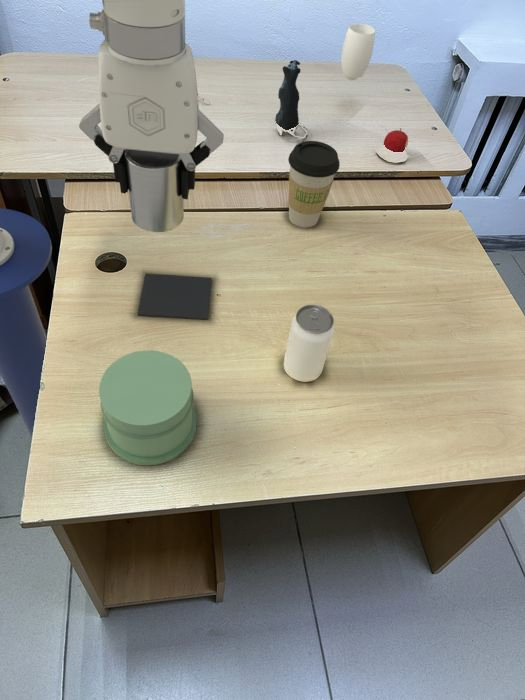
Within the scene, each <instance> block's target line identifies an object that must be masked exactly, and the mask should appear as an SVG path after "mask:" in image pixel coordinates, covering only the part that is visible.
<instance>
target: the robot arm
mask: <svg viewBox="0 0 525 700" xmlns="http://www.w3.org/2000/svg"><path fill="white" fill-rule="evenodd" d="M101 1H102V10H101V11H97V13H96V12H89V15H88V16H89V17H88V19H89V20H88V21H89V27H90V29H92V30H98V31H99V32H102V36H104V39H103V41H102V43H100V45H99V48H98V63H97V65H98V67H97V68H98V70H97V73H98V74H97V79H98V100H99V103H98V104H96V106H94V107H93V108H92V109H91V110H90V111H89V112H88V113H86V114H84V116H82V118H81V120H80V122H79V124H78V127H79V129H80V130H81V132H82V133H84V134H85V135H86V136H87V138H89V139H90V140H92V141H93V143H94V145H95V147H97V148H98V149H99V150H100V151H101V152H103V153H104V154H105V155H106V156H107V157H108V161H109V162H110V163H111V164H112V165H113V173H114V181H115V183H119V188H120V194H127V193H129V189H128V180H127V171H126V162H125V149H130V150H140V151H149V152H160V153H170V154H179V156H180V158H181V159H182V161H183V165H182V170H181V190H182V198H183V199H184V200H188V199H189V194H190V190H192V191H193V190H195V186H196V169H197V166H199V165H200V164H202V162H204V161H205V160H206V159H207V158H209V157H210V155H211V153H213V152H215V151H216V150H217V149H218V148H219V147H220V146H221V145H223V144H224V137H225V135H224V133H223V131H221V130H220V128H218V127H217V126H216V124H214V123H213V122H212V121H211V120H210V118H208V117H207V116H206V115H205V114H204V112H202V110H200V108H199V96H198V94H199V91H198V81H197V72H196V66H195V59H194V55H193V51H192V48H191V46H190V45H189V44H188V43H186V0H101ZM99 124H100V125H101V126H99ZM198 131H199V132H200V133H201V134H202V135H203V136H204V137H205V140H203V141H201V142H200V143H199V144H197V142H198V141H197V140H198ZM14 247H15V246H14V241H13V238H12V236H11V235H10V234H9V233H8V232H7V231H6V230H4V229H2V228H0V265H2V264H4V263H5V262H6V261H7V260H8V259H9V258H10V257H11V256H12V254H13V252H14Z"/></svg>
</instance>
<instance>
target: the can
mask: <svg viewBox="0 0 525 700" xmlns="http://www.w3.org/2000/svg"><path fill="white" fill-rule="evenodd" d="M334 333H335V319H334V316H333V314H332V313H331V311H330V310H328V309H327V308H325V307H324V306H322V305H319V304H306V305H303V306H302V307H300V308H299V309H298V310H297V312H296V313H295V315H294V316H293V318H292V320H291V323H290V328H289V333H288V338H287V343H286V348H285V353H284V359H283V370H284V371H285V372H286V374H287V375H288V377H290V378H292V379H293V380H295V381H298V382H304V383H305V382H306V383H308V382H312V381H315V380H317V379H318V378H319V377H320V376H321V374H322V372H323V371H324V366H325V364H326V360H327V357H328V353H329V351H330V348H331V347H330V346H331V343H332V341H333V338H334Z"/></svg>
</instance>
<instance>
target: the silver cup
mask: <svg viewBox="0 0 525 700" xmlns="http://www.w3.org/2000/svg"><path fill="white" fill-rule="evenodd" d="M125 162H126V171H127V180H128V197H129V207H130V214H131V219H132V222H133V224H134V225H135V226H137V227H138V228H140V229H141V230H143V231H146V232H151V233H166V232H170V231H173V230H174V229H176V228H178V227H179V226H180V225H181V224H182V223H183V221H184V218H185V209H184V208H185V206H184V205H185V203H184V200H185V199H183V198H182V190H181V170H182V165H183V161H182V159H181V158H180V156H179V154H170V153H160V152H149V151H140V150H130V149H125Z"/></svg>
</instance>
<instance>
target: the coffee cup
mask: <svg viewBox="0 0 525 700" xmlns="http://www.w3.org/2000/svg"><path fill="white" fill-rule="evenodd" d="M287 160H288V164H289V172H288V219H289V221H290V222H291V223H292V224H293V225H294V226H296V227H299V228H312V227H314V226H316V225H317V224H318V222H319V219H320V216H321V214H322V211H323V210H324V208H325V204H326V203H327V199H328V196H329V193H330V191H331V188H332V186H333V183H334V177H335V175H336V173H337V172H338V171H339V169H340V159H339V154H338V152H337V150H336V149H335V148H334V147H333V146H331V145H330V144H328V143H325V142H322V141H317V140H304V141H301V142H299V143H297V144H296V145H295V146H294V147H293V149H292V150H291V151H290V153H289V155H288V159H287Z"/></svg>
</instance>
